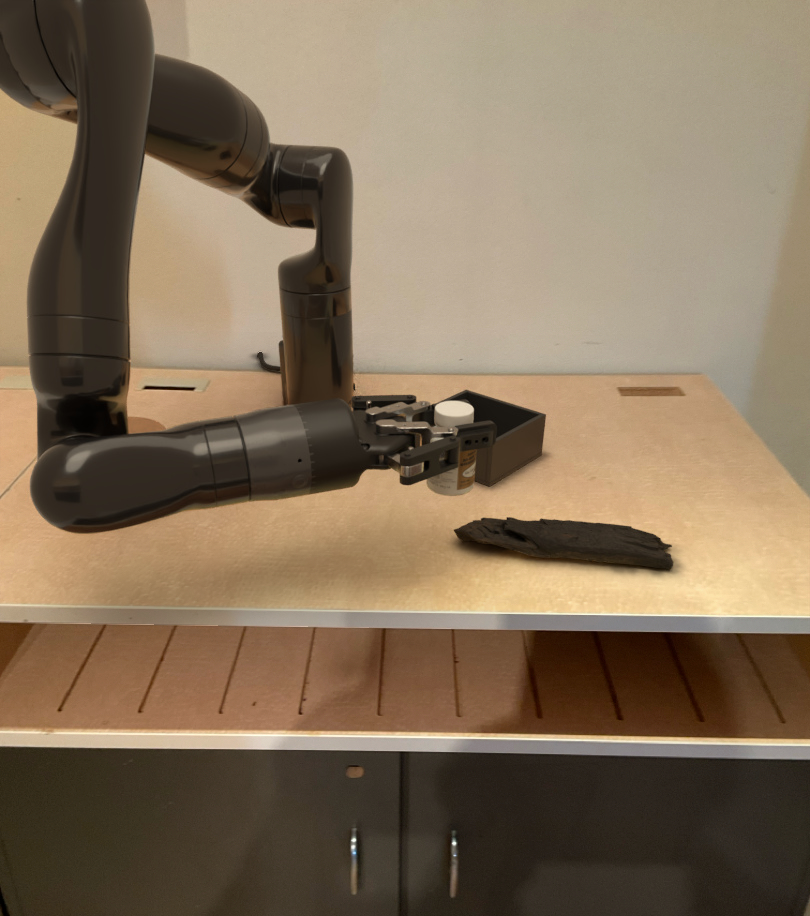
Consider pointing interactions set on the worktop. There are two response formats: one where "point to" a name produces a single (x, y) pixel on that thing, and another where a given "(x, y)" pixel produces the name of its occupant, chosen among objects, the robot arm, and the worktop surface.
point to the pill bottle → (464, 475)
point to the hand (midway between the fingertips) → (480, 421)
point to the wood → (570, 540)
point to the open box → (503, 436)
